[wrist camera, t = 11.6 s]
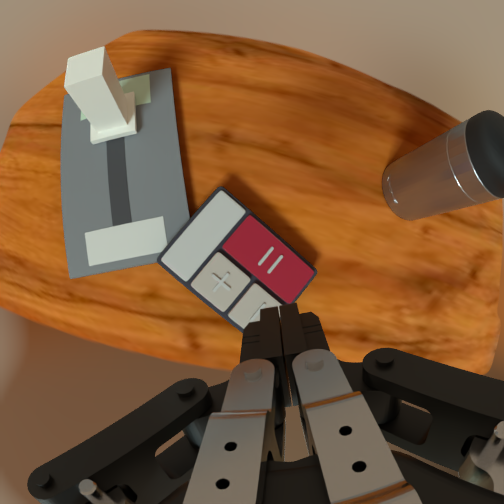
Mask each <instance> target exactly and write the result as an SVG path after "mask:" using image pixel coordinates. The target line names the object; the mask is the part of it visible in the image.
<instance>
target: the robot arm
mask: <svg viewBox="0 0 504 504" xmlns="http://www.w3.org/2000/svg"><path fill="white" fill-rule="evenodd" d="M382 188H383V193H384V196H385V199H386V201H387V203H388V205H389V207H390V208H391V209H392V211H393V212H394V213H395V214H396V215H398V216H399V217H401V218H403V219H405V220H416V219H421V218H425V217H429V216H433V215H437V214H441V213H445V212H450V211H454V210H458V209H462V208H466V207H470V206H474V205H478V204H482V203H485V202H489V201H493V200H497V199H501V198H504V117H503V116H502V115H500V114H499V113H497V112H494V111H491V110H487V111H483V112H481V113H478V114H477V115H475V116H473V117H471V118H470V119H468V120H466V121H464V122H462V123H461V124H459V125H457V126H455V127H454V128H452V129H450V130H449V131H447V132H445V133H443V134H442V135H440V136H438V137H436V138H434V139H433V140H431V141H429V142H427V143H426V144H424V145H422V146H420V147H419V148H417V149H415V150H413V151H412V152H410V153H408V154H406V155H404V156H403V157H401V158H399V159H397V160H396V161H394V162H392V163H391V164H389V165H388V166H387V168H386V169H385V171H384V174H383V178H382ZM279 309H280V316H279V310H278V306H275V307H269V308H263V309H260V321H255V322H249V323H248V325H247V326H246V327H245V328H244V330H243V338H242V347H241V356H240V364H238V365H237V366H236V367H235V368H234V369H233V370H232V372H231V376H230V379H229V380H228V381H226V382H224V383H221V384H218V385H215V386H211V387H208V386H207V384H206V383H205V382H204V381H202V380H200V379H196V378H189V379H184V380H181V381H178V382H176V383H175V384H173V385H172V386H170V387H169V388H167V389H166V390H164V391H163V392H161V393H160V394H158V395H157V396H155V397H154V398H152V399H151V400H149V401H148V402H146V403H145V404H143V405H142V406H140V407H139V408H137V409H135V410H134V411H132V412H131V413H129V414H128V415H126V416H125V417H123V418H122V419H120V420H118V421H117V422H115V423H113V424H112V425H110V426H109V427H107V428H105V429H104V430H102V431H101V432H99V433H97V434H96V435H94V436H92V437H91V438H89V439H87V440H86V441H84V442H82V443H81V444H79V445H77V446H76V447H74V448H72V449H70V450H68V451H67V452H65V453H63V454H62V455H60V456H58V457H56V458H54V459H52V460H51V461H49V462H47V463H45V464H43V465H42V466H40V467H38V468H36V469H35V470H34V471H33V472H32V473H31V475H30V476H29V479H28V483H27V486H28V490H29V492H30V494H31V495H32V496H33V497H34V498H35V499H37V500H38V501H39V502H40V503H41V504H504V381H501V380H497V379H494V378H490V377H486V376H483V375H479V374H476V373H472V372H469V371H465V370H462V369H458V368H455V367H452V366H448V365H445V364H442V363H438V362H435V361H432V360H428V359H425V358H422V357H419V356H416V355H412V354H409V353H406V352H403V351H400V350H397V349H393V348H380V349H376V350H373V351H371V352H370V353H368V354H367V355H366V356H365V357H364V359H363V362H360V363H351V362H344V361H340V360H338V359H337V358H336V356H335V355H334V354H333V353H332V352H330V349H329V346H328V343H327V341H326V338H325V335H324V332H323V329H322V326H321V323H320V320H319V318H318V316H316V315H315V314H313V313H312V312H308V313H302V314H299V311H298V307H297V303H292V304H286V305H280V306H279ZM280 318H281V321H280ZM288 377H289V378H288ZM289 383H290V387H289ZM290 389H291V395H292V400H293V406H296V405H299V411H300V418H301V424H302V428H303V432H304V436H305V440H306V445H307V449H308V453H309V457H306V458H303V459H300V460H298V461H294V462H284V458H285V433H286V422H285V417H286V411H285V407H290V406H291V397H290ZM402 400H404V401H406V402H409V403H411V404H414V405H417V406H419V407H422V408H424V409H426V410H428V411H429V412H430V413H431V414H429V413H427V412H424V411H422V410H419V409H417V408H414V407H411V406H409V405H406V404H404V403H401V402H402ZM181 430H183V432H184V434H185V435H184V437H182V438H181V439H179V440H178V441H177V442H175V443H174V444H173V445H171V446H170V447H168V448H167V449H166V450H164V451H163V452H162V453H160V454H159V455H157V456H156V457H155V452H156V450H157V449H158V448H159V447H160V446H161V445H162V444H164V443H165V442H167V441H168V440H169V439H171V438H172V437H174V436H175V435H176V434H178V433H179V432H180V431H181ZM386 441H387V442H390V443H391V444H394V445H396V446H398V447H400V448H402V449H404V450H407V451H409V452H411V453H414V454H416V455H418V456H420V457H423V458H425V459H427V460H430V461H432V462H434V463H437V464H439V465H442V466H444V467H447V468H450V469H452V470H455V471H458V472H459V478H458V477H455V476H453V475H451V474H448V473H446V472H444V471H441V470H439V469H437V468H435V467H433V466H430V465H428V464H426V463H424V462H422V461H420V460H418V459H416V458H414V457H412V456H410V455H407V454H404V453H401V452H397V451H393V450H390V449H389V447H388V445H387V443H386Z"/></svg>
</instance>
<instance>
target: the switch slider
mask: <svg viewBox="0 0 504 504" xmlns="http://www.w3.org/2000/svg"><path fill="white" fill-rule="evenodd" d="M64 88H65V89H66V91H67V92H68V93H69V95H70V96H71V97H72V99H73V100H74V102H75V103H76V104H77V106H78V107H79V108H80V110H81V111H82V113H83V114H84V115H85V117H86V118H87V119H88V121H89V122H90V123H91V126H90V142H91V143H92V144H97V143H101V142H104V141H108V140H112V139H116V138H120V137H124V136H128V135H133V134H137V123H136V101H135V93H134V92H130V93H125V94H124V92H123V90H122V87H121V85H120V83H119V80H118V78H117V76H116V73H115V71H114V68H113V66H112V64H111V61H110V59H109V56H108V54H107V51H106V49H105V46H104V47H101V48H97V49H94V50H91V51H88V52H85V53H82V54H79V55H76V56H73V57H70V58H68V64H67V70H66V76H65V84H64Z"/></svg>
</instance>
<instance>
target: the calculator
mask: <svg viewBox="0 0 504 504" xmlns="http://www.w3.org/2000/svg"><path fill="white" fill-rule="evenodd" d="M157 262H158V264H160V265H161V266H162V267H163V268H164V269H165V270H166V271H168V272H169V273H170V274H171V275H172V276H173V277H175V278H176V279H177V280H178V281H179V282H180V283H182V284H183V285H184V286H185V287H186V288H188V289H189V290H190V291H191V292H192V293H194V294H195V295H196V296H197V297H198V298H200V299H201V300H202V301H203V302H204V303H206V304H207V305H208V306H209V307H211V308H212V309H213V310H214V311H215V312H217V313H218V314H219V315H220V316H222V317H223V318H224V319H226V320H227V321H228V322H229V323H231V324H232V325H233V326H234V327H236V328H237V329H238V330H240V331H241V332H242V333H243V330H244V328H245V327H246V326H247V325H248V323H249V322H255V321H260V309H263V308H269V307H275V306H278V310H279V316H280V309H279V306H280V305H286V304H292V303H295V301H296V300H297V299H298V298H299V296H300V295H301V294H302V292H303V291H304V290H305V289H306V287H307V286H308V285H309V284H310V282H311V281H312V280H313V278H314V277H315V276H316V274H317V270H316V268H314V267H313V266H312V265H311V264H310V263H309V262H308V261H307V260H306V259H305V258H303V257H302V256H301V255H300V254H299V253H298V252H297V251H296V250H295V249H293V248H292V247H291V246H290V245H289V244H288V243H287V242H286V241H284V240H283V239H282V238H281V237H280V236H279V235H278V234H277V233H275V232H274V231H273V230H272V229H271V228H270V227H269V226H268V225H266V224H265V223H264V222H263V221H262V220H261V219H260V218H258V217H257V216H256V215H255V214H254V213H253V212H252V211H250V210H249V209H248V208H247V207H246V206H245V205H244V204H242V203H241V202H240V201H239V200H238V199H237V198H235V197H234V196H233V195H232V194H231V193H230V192H228V191H227V190H226V189H225V188H224V187H222V186H220V187H218V188H217V189H216V190H215V191H214V192H213V193H212V194H211V196H210V197H209V198H208V199H207V200H206V201H205V202H204V203H203V204H202V206H201V207H200V208H199V209H198V210H197V211H196V212H195V213H194V215H193V216H192V217H191V218H190V219H189V220H188V222H187V223H186V224H185V225H184V226H183V227H182V228H181V230H180V231H179V232H178V233H177V234H176V235H175V237H174V238H173V239H172V240H171V241H170V243H169V244H168V245H167V246H166V247H165V249H164V250H163V251H162V252H161V253H160V255H159V256H158V257H157ZM280 320H281V318H280Z"/></svg>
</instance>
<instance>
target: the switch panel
mask: <svg viewBox="0 0 504 504" xmlns="http://www.w3.org/2000/svg"><path fill="white" fill-rule="evenodd" d="M118 80H119V83H120V85H121V87H122V90H123V92H124V94H125V93H130V92H134V93H135V101H136V123H137V134H133V135H128V136H124V137H120V138H116V139H112V140H108V141H104V142H101V143H97V144H92V143H91V142H90V126H91V123H90V122H89V121H88V119H87V118H86V117H85V115H84V114H83V113H82V111H81V110H80V108H79V107H78V106H77V104H76V103H75V102H74V100H73V99H72V97H71V96H70V95H69V94H67V95H65V96H64V106H63V118H62V135H61V198H62V215H63V227H64V238H65V247H66V255H67V262H68V269H69V276H70V279H72V278H79V277H84V276H89V275H95V274H100V273H105V272H110V271H115V270H121V269H126V268H131V267H136V266H142V265H147V264H152V263H158V262H157V257H158V256H159V255H160V253H161V252H162V251H163V250H164V249H165V247H166V246H167V245H168V244H169V243H170V241H171V240H172V239H173V238H174V237H175V235H176V234H177V233H178V232H179V231H180V230H181V228H182V227H183V226H184V225H185V224H186V223H187V222H188V220H189V219H190V215H189V209H188V202H187V196H186V189H185V183H184V176H183V169H182V162H181V154H180V147H179V139H178V131H177V123H176V114H175V105H174V96H173V86H172V75H171V68H166V69H161V70H155V71H150V72H146V73H141V74H137V75H132V76H128V77H124V78H120V79H118Z"/></svg>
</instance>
